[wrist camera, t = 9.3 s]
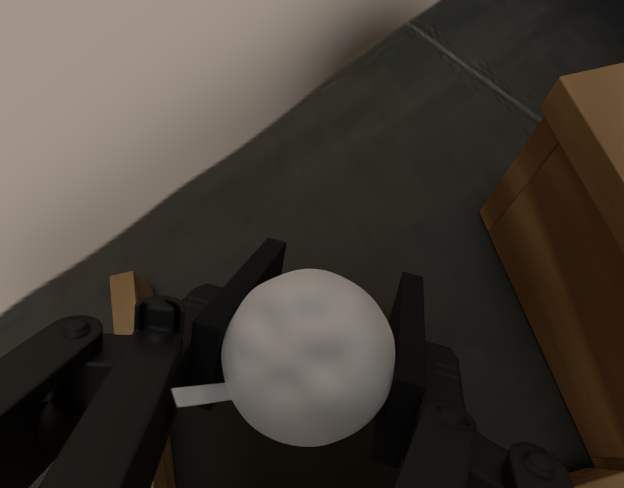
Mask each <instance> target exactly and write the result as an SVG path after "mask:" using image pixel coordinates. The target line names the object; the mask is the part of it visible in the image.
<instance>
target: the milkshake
mask: <svg viewBox="0 0 624 488" xmlns="http://www.w3.org/2000/svg"><path fill="white" fill-rule="evenodd" d="M221 360H222V370H223V375H224V380H225V383H215V384H205V385H195V386H185V387H175V388H171V389H170V393H171V396H172V399H173V402H174V405H175V407H176V408H184V407H190V406H197V405H203V404H209V403H216V402H222V401H228V400H232V401H233V403H234V405H235V406H236V408H237V409H238V411H239V412H240V414H241V415H242V416H243V418H244V419H245V420H246V421H247V422H248V423H249V424H250V425H251V426H252V427H253V428H255V429H256V430H257V431H259V432H260V433H262V434H263V435H265V436H267V437H269V438H271V439H273V440H276V441H278V442H281V443H285V444H289V445H294V446H301V447H316V446H323V445H327V444H330V443H334V442H336V441H339V440H342V439H344V438H346V437H348V436H350V435H352V434H354V433H355V432H357V431H359V430H360V429H361V428H363V427H364V426H365V425H366V424H367V423H368V422H369V421H370V420H371V419H372V418H373V417H374V416H375V415H376V414H377V413H378V411H379V410H380V409H381V407H382V406H383V404H384V403H385V401H386V399H387V397H388V395H389V392H390V389H391V386H392V381H393V376H394V367H395V343H394V337H393V334H392V331H391V328H390V326H389V323H388V321H387V319H386V317H385V315H384V314H383V312H382V310H381V309H380V307H379V306H378V305H377V303H376V302H375V301H374V300H373V298H372V297H371V296H370V295H369V294H368V293H367V292H366V291H364V290H363V289H362V288H361V287H359V286H358V285H356V284H355V283H353V282H351V281H349V280H348V279H346V278H344V277H342V276H339V275H337V274H335V273H332V272H329V271H325V270H320V269H300V270H295V271H291V272H288V273H285V274H282V275H280V276H277V277H275V278H272V279H270V280H268V281H266V282H264V283H262V284H260V285H258V286H257V287H255V288H254V289H253V290H252V291H251V292H250V293H249V294H248V295H247V296H246V297H245V299H244V300H243V301H242V303H241V304H240V306H239V308H238V309H237V311H236V313H235V314H234V316H233V318H232V319H231V321H230V323H229V325H228V327H227V330H226V332H225V335H224V338H223V343H222V352H221Z"/></svg>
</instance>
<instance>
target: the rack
mask: <svg viewBox="0 0 624 488" xmlns="http://www.w3.org/2000/svg"><path fill="white" fill-rule="evenodd" d="M540 110H541V111H542V113H543V115H544V117H543V119H542V120H541V122H540V123H539V125H538V126H537V128H536V129H535V131H534V132H533V134H532V135H531V136H530V138H529V139H528V141H527V142H526V144H525V145H524V147H523V148H522V150H521V151H520V153H519V154H518V156H517V157H516V159H515V160H514V161H513V163H512V164H511V166H510V167H509V169H508V170H507V172H506V173H505V175H504V176H503V178H502V179H501V181H500V182H499V184H498V185H497V186H496V188H495V189H494V191H493V192H492V194H491V195H490V197H489V198H488V200H487V201H486V203H485V204H484V206H483V207H482V209H481V210H480V215H481V217H482V219H483V222H484V224H485V226H486V228H487V230H488V232H489V235H490V238H491V240H492V242H493V244H494V246H495V249H496V251H497V253H498V255H499V257H500V260H501V262H502V264H503V266H504V268H505V271H506V273H507V275H508V277H509V279H510V282H511V284H512V286H513V288H514V290H515V293H516V295H517V297H518V299H519V301H520V304H521V306H522V308H523V310H524V312H525V315H526V317H527V319H528V321H529V323H530V326H531V328H532V330H533V332H534V334H535V337H536V339H537V341H538V343H539V345H540V348H541V350H542V352H543V354H544V356H545V359H546V361H547V363H548V365H549V367H550V370H551V372H552V374H553V376H554V378H555V381H556V383H557V385H558V387H559V389H560V392H561V394H562V396H563V398H564V401H565V403H566V405H567V407H568V409H569V412H570V414H571V416H572V418H573V420H574V423H575V425H576V427H577V429H578V431H579V434H580V436H581V438H582V440H583V442H584V445H585V447H586V449H587V451H588V453H589V456H590V457H592V458H591V460H592V462H593V464H594V467H595V468H585V469H581V470H578V471H575V472H571V473H569V475H570V477H571V480H572V483H573V485H574V488H624V63H620V64H615V65H611V66H606V67H602V68H597V69H593V70H588V71H583V72H579V73H574V74H570V75H565V76H561V77H559V78H558V80H557V81H556V83H555V85H554V86H553V88H552V89H551V91H550V92H549V94H548V95H547V97H546V98H545V100H544V102H543V103H542V105H541V106H540ZM110 289H111V302H112V315H113V327H114V334H117V335H132V333H133V332H134V310H135V304H136V303H137V302H138V301H140V300H142V299H144V298H147V297H151V296H153V289H152V288H151V287H150V286H149V285H148V284H146V283H145V282H144V281H143V280H142V279H141V278H140V277H139V276H138V275H137V274H135V273H134V272H133V271H130V272H126V273H121V274H117V275H113V276H110ZM151 488H176V484H175V476H174V467H173V459H172V450H171V442H170V434H169V437H168V440H167V443H166V446H165V449H164V451H163V454H162V457H161V460H160V463H159V466H158V469H157V471H156V474H155V477H154V480H153V483H152V486H151Z"/></svg>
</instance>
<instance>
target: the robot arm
mask: <svg viewBox="0 0 624 488" xmlns="http://www.w3.org/2000/svg"><path fill="white" fill-rule="evenodd" d="M286 243H287V242H283V241H279V240H275V239H271V238H267V240H266V241H265V242H264V243H263V244H262V245H261V246H260V247H259V248H258V250H257V251H256V252H255V253H254V254H253V255H252V256H251V257H250V258H249V260H248V261H247V262H246V263H245V264H244V265H243V266H242V267H241V268H240V269H239V271H238V272H237V273H236V274H235V275H234V276H233V277H232V278H231V279H230V281H229V282H228V283H227V284H226V285H225V286H224V287H223V288H222V287H218V286H214V285H211V284H204V285H202V286H199V287H197V288H194V289H193V290H192V291H191V292H190V293H189V294H188V295H187V297H186V298H184V299H183V300H182V301H180V300H178V299H176V298H173V297H169V296H151V297H147V298H144V299H142V300H140V301H138V302H137V303H136V304H135V310H134V332H133V333H132V335H117V334H103V325H102V324H101V322H100V321H99V320H97V319H95V318H93V317H89V316H83V315H82V316H80V315H78V316H70V317H65V318H61V319H59V320H57V321H55V322H53V323H52V324H50V325H49V326H47V327H46V328H44V329H43V330H41V331H40V332H38V333H37V334H35V335H34V336H32V337H31V338H29V339H28V340H26V341H25V342H24V343H22V344H21V345H19V346H18V347H16V348H15V349H13V350H12V351H10V352H9V353H7V354H6V355H4V356H3V357H1V358H0V488H29V487H30V485H31V484H32V483H33V482H34V481H35V480H36V479H37V478H38V477H39V476H40V475H41V474H42V473H43V472H44V471H45V470H46V469H47V468H48V466H49V465H50V464H51V463H52V462H53V461H54V460H55V459H56V460H55V461H54V463H53V465H52V466H51V468H50V470H49V471H48V473H47V474H46V476H45V478H44V479H43V481H42V483H41V484H40V486H39V488H151V486H152V483H153V480H154V477H155V474H156V471H157V469H158V466H159V463H160V460H161V457H162V454H163V451H164V449H165V446H166V443H167V440H168V437H169V434H170V432H171V429H172V426H173V423H174V420H175V417H176V414H177V408H176V407H175V405H174V402H173V399H172V396H171V393H170V389H171V388H175V387H185V386H195V385H205V384H215V383H225V380H224V375H223V370H222V360H221V352H222V343H223V338H224V335H225V332H226V330H227V327H228V325H229V323H230V321H231V319H232V318H233V316H234V314H235V313H236V311H237V309H238V308H239V306H240V304H241V303H242V301H243V300H244V299H245V297H246V296H247V295H248V294H249V293H250V292H251V291H252V290H253V289H254V288H255V287H257V286H258V285H260V284H262V283H264V282H266V281H268V280H270V279H272V278H275V277H277V276H280V275H281V272H282V266H283V261H284V255H285V249H286ZM388 323H389V326H390V328H391V331H392V334H393V337H394V343H395V367H394V376H393V381H392V386H391V389H390V392H389V395H388V397H387V399H386V401H385V403H384V404H383V406H382V407H381V409H380V410H379V411H378V413H377V414H376V418H375V426H374V435H373V443H372V452H371V461H374V462H377V463H380V464H384V465H387V466H390V467H393V468H397V469H399V466H400V463H401V460H402V458H403V466H402V469H401V472H400V474H399V477H398V480H397V483H396V485H395V488H574V485H573V483H572V480H571V477H570V475H569V473H568V471H567V470H566V468H565V466H564V465H563V464H562V463H561V462H560V461H559V460H558V459H557V458H556V457H555V456H554V455H553V454H551V453H550V452H548V451H547V450H545V449H544V448H542V447H539V446H537V445H534V444H532V443H525V442H520V443H516V444H513V446H512V447H511V448H510V449H509V451H508V450H506V449H504V448H502V447H500V446H499V445H497V444H495V443H493V442H491V441H490V440H488V439H486V438H485V437H483V436H482V435H481V434H480V433H479V432H477V429H476V423H475V421H474V420H473V418H472V416H471V415H470V414H469V413H468V412H467V411H466V410H465V403H464V397H463V390H462V383H461V376H460V372H459V370H460V369H459V363H458V359H457V357H456V356H455V354H454V353H453V352H452V350H451V349H450V348H448V347H444V346H441V345H437V344H433V343H429V342H426V341H425V326H424V295H423V277H422V276H418V275H414V274H410V273H406V272H403V273H402V277H401V280H400V284H399V287H398V291H397V294H396V298H395V301H394V305H393V308H392V312H391V315H390V319H389V322H388ZM214 404H215V403H209V404H203V405H197V406H196V407H199V408H202V409H206V410H209V411H211V409H212V407H213V406H214Z"/></svg>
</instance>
